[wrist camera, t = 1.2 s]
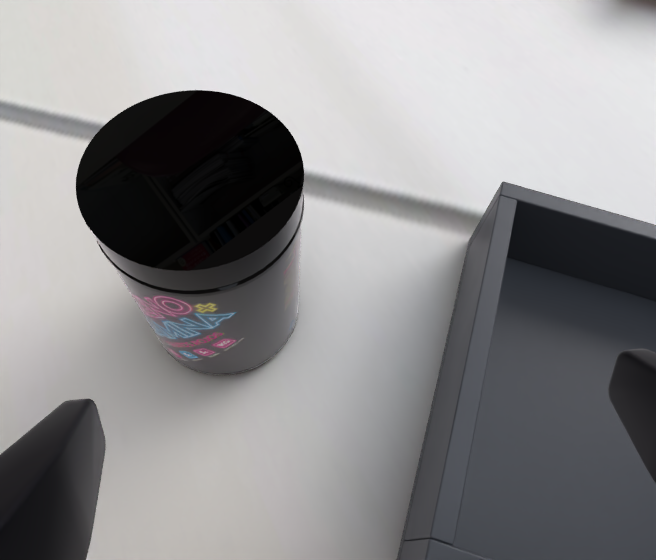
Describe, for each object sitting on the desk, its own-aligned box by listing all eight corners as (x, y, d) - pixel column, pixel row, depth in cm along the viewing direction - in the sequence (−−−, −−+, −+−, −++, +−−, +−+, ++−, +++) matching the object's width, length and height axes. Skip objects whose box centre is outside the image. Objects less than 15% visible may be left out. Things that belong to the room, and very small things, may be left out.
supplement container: (146, 263, 26) (67, 106, 17) (282, 237, 27) (277, 76, 18) (164, 397, 23) (82, 294, 14) (315, 361, 25) (330, 244, 15)
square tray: (804, 706, 20) (953, 750, 15) (395, 562, 21) (424, 565, 17) (775, 330, 27) (871, 286, 22) (469, 239, 28) (502, 180, 24)
